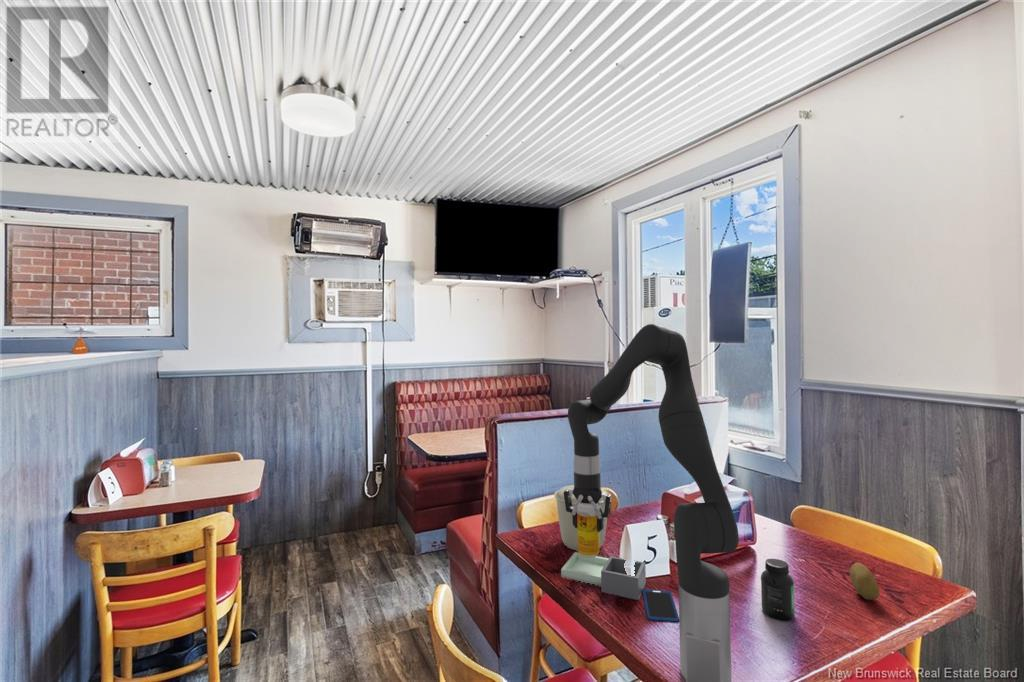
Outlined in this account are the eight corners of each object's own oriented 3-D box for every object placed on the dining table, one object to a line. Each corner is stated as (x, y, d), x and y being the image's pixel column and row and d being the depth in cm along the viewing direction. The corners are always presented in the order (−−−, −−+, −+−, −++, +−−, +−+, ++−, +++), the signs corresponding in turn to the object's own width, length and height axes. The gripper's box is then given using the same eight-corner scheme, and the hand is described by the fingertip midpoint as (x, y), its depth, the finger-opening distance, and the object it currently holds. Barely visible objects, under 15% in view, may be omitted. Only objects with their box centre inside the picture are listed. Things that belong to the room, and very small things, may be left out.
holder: (638, 600, 119) (638, 578, 119) (601, 592, 123) (601, 570, 123) (645, 582, 128) (645, 562, 128) (610, 575, 132) (610, 556, 132)
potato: (875, 608, 114) (875, 575, 114) (840, 594, 120) (840, 563, 120) (889, 600, 117) (888, 568, 117) (854, 587, 124) (853, 556, 124)
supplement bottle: (801, 619, 110) (800, 567, 110) (776, 623, 108) (775, 571, 108) (779, 604, 116) (778, 555, 116) (755, 607, 115) (754, 558, 115)
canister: (546, 538, 158) (545, 475, 159) (595, 531, 164) (594, 470, 164) (569, 561, 141) (567, 491, 141) (622, 553, 146) (621, 485, 147)
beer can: (574, 556, 133) (573, 502, 133) (582, 547, 138) (581, 496, 138) (595, 560, 130) (594, 505, 130) (602, 551, 135) (601, 499, 136)
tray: (603, 586, 126) (603, 577, 126) (561, 577, 131) (561, 569, 131) (614, 567, 137) (614, 559, 137) (575, 560, 142) (575, 552, 142)
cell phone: (670, 593, 123) (670, 590, 123) (680, 624, 109) (680, 621, 109) (641, 591, 124) (641, 588, 124) (647, 622, 110) (647, 618, 110)
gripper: (558, 470, 134) (559, 529, 134) (608, 476, 128) (609, 538, 128) (567, 464, 141) (568, 520, 141) (615, 469, 134) (616, 528, 134)
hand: (588, 528), depth 134 cm, fingers closed on beer can, 6 cm apart
